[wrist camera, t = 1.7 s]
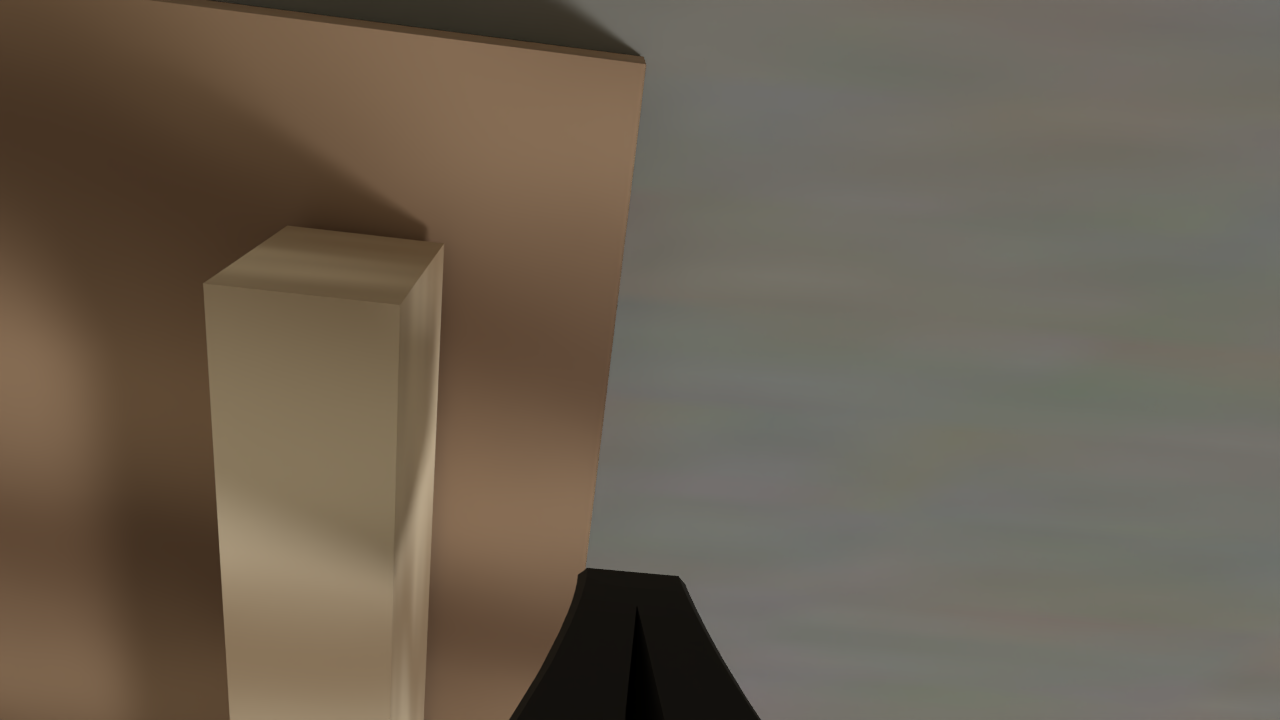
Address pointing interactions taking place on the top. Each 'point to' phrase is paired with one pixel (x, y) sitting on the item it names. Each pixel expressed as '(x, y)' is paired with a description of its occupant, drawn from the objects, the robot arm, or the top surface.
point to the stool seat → (227, 230)
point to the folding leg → (325, 471)
